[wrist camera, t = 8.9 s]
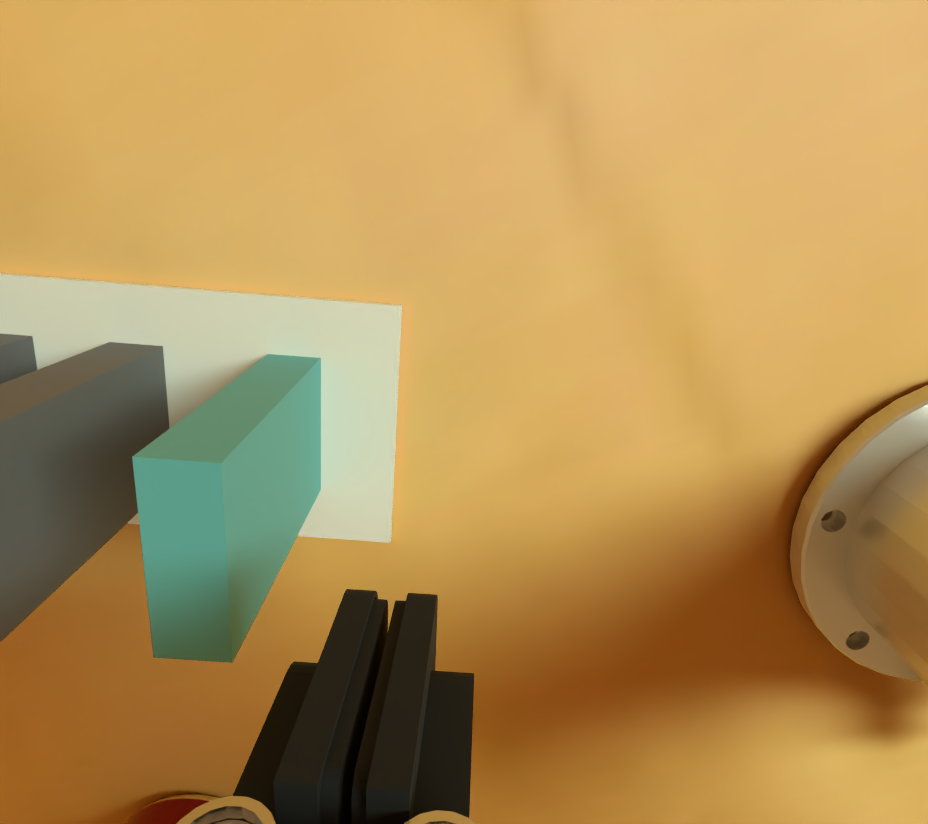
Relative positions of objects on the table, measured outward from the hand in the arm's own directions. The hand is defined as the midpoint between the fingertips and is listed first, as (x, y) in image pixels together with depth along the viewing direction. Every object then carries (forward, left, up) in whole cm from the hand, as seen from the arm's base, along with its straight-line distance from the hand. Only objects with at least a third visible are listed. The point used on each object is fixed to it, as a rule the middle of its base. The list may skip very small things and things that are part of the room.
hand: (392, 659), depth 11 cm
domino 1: (+4, +9, -11) cm, 15 cm away
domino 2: (+2, +4, -11) cm, 12 cm away
